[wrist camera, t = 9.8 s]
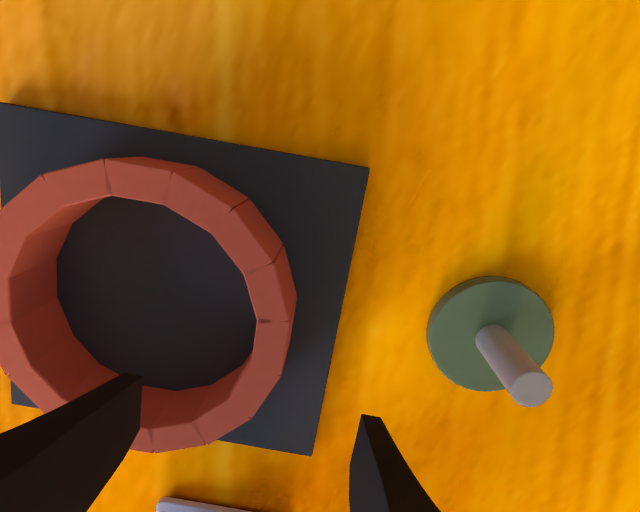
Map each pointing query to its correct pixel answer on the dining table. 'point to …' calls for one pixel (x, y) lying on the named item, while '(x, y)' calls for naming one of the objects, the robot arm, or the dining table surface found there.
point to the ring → (73, 358)
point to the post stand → (493, 338)
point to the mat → (194, 264)
